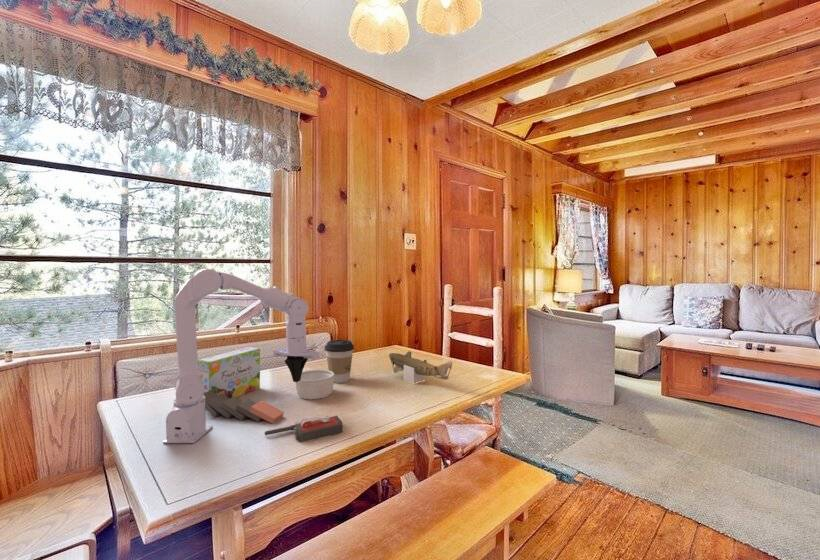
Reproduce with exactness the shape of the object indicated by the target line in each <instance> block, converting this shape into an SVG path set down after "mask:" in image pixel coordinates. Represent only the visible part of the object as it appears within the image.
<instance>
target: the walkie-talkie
mask: <svg viewBox="0 0 820 560" xmlns="http://www.w3.org/2000/svg"><path fill="white" fill-rule="evenodd" d="M343 423H344V422H343V421H342V420H341V418H340V417H339V416H338V415H334V416H328V415H326V416H325V418H321V417H319V416H314V417H313V416H312V417H309V418H304V419H302V420H301V421H295V422H294V424H292V425H290V426H284V427H279V428H275V429H270V430H266V431H264V436H268V435H273V434H279V433H284V432H288V431H293V432H292V433H293V434H294V435H295V440H298V441H299V442H300V443H305V442H309V441H313V440H318V439H322V438H326V437H331V436H336V435H340V434H342V433H343V432H344V431H343V430H344V429H343V425H344V424H343Z"/></svg>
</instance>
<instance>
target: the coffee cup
mask: <svg viewBox="0 0 820 560" xmlns="http://www.w3.org/2000/svg"><path fill="white" fill-rule="evenodd" d="M354 349H355V345H354V344H353V342H352V340H349V339H331V340H329V341H327V342H326V345H325V346H324V351H325V354H326V355H325V356H326V361H327V369H328V371H332V372H333V373H334V379H333V384H345V383H347V381H348V382H349V381H350V377H351V370H352V369H351V368H352V359H353V353H354ZM344 382H345V383H344Z"/></svg>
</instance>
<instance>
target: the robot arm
mask: <svg viewBox="0 0 820 560" xmlns="http://www.w3.org/2000/svg"><path fill="white" fill-rule="evenodd" d="M219 289H220V290H221V291H224V290H236V291H238V292H241V293H244V294H246V295H249V296H252V297H255V298H258V299H259V300H260V303H261V305H263V306H265V307H268V308H271V309H274V310H276V311H278V312H280V313H285V315H286V317H285V318H286V319H285V321H286V322H285V327H286V328H285V335H286V338H285V339H286V346H285V347H286V348H282V349H279V348H276V349H274V350H273V351H272V352H273V357H274V358H275V357H282V358H283V357H284V358H286V359H284V363H285V364H286V366H287V368H288V370H289V372H290V374H291V375H290V376H291V379H292V382H293V383H294V382H295V383H296V382H298V381H300V379H301V375H302V372H303V370H304V367H305V366H306V363H307V361H308V360H309V359H310V360H311V359H313V360H318V359H320V355H321V354H320V353H321V352H320V351H315V350H310V349H307V323H306V322H307V321H306V318H307V317H306V316H307V313H308V312H309V307H310V306H308V303H307V301H306V300H305V299H303V298H302V297H297V296H295V294H294V293H292V292H290V293H288V292H286V291H283V290H281V289H280V287H279V286H277V285H274V286H271V285H270V286H267V287H261V286H260V285H256V284H255V283H253V282H250V281H248V280H245V279H243V278H241V277H239V276H237V275H233V274H229V273H225V272H221V271H216V270H214V269H212V268H211V269H210V268H200V269H198V270H196V271H195V272H194V273H192V274H190V275H189V276H188V278H187V279H186V280H185V282H184V283H183V285H182V286H181V288H180V289H179V291H178V292H177V293H176V295H175V297H174V319H175V334H176V335H175V336H176V349H177V350H176V351H177V367H178V368H177V372H178V373H177V375H178V376H177V378H176V380H175V382H174V389H175V399H173V407H172V408H171V410H170V412H169V413H167V415H166V418H165V433H166V434H165V435H166V438H165V439H163V441H162V443H163V444H194V443H196V442H197V441H199V440H200V438H202V437H203V436H205V434H207V433H208V432H209V431H210V430H211V429H213V425H208V424H206V422H207V421H206V419H207V418H206V408H205V396H204V386H203V385H202V381H201V377H200V376H199V369H198V360H199V359H198V358H199V357H198V342H197V323H196V319H197V318H196V305H198V303H200V301H202V300H203V299H204V298H205V297H207V296H209V295H212V294H213V293H215V292H217V291H218V290H219Z"/></svg>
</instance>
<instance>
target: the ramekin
mask: <svg viewBox="0 0 820 560" xmlns="http://www.w3.org/2000/svg"><path fill="white" fill-rule="evenodd" d="M333 379H334V373H333V372H332V371H329V370H327V369H310V370H309V369H308V370H304V371H302V375H301V379H300V381H298V382H295V387H296V392H297V393H296V394H297V396H299V398H301V399H303V400H311V401H312V399H314V400H320V398H321V399H324V398H326V397H329V396H331V394H332V393H333V389H334V388H333V387H334V386H333V385H334V383H333Z"/></svg>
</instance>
